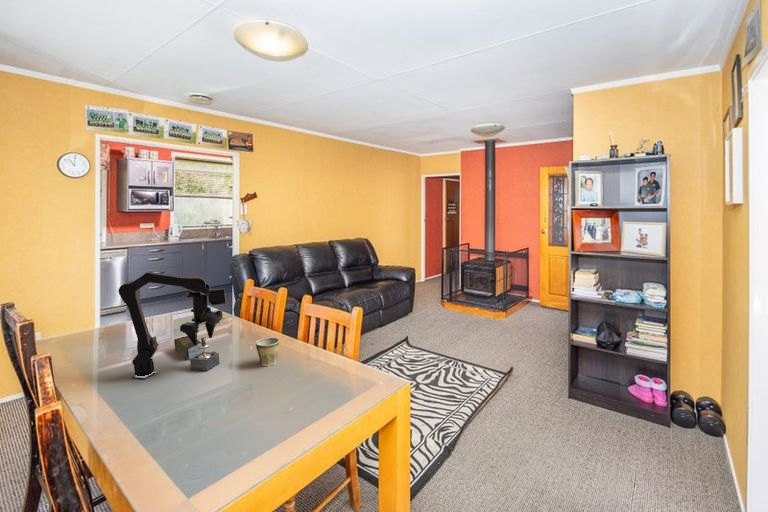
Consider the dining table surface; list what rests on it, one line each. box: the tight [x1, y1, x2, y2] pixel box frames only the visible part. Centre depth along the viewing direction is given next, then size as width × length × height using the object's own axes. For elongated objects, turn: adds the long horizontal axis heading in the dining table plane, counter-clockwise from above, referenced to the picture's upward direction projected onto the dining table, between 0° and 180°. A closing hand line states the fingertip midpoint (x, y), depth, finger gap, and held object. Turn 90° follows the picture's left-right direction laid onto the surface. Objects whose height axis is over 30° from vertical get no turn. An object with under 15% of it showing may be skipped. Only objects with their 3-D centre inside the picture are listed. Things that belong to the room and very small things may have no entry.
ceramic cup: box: [255, 337, 280, 367], centre depth 170 cm, size 13×10×10 cm
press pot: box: [189, 351, 221, 372], centre depth 168 cm, size 10×8×5 cm
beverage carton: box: [173, 335, 203, 361], centre depth 183 cm, size 8×19×7 cm, turn 45°
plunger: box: [198, 337, 211, 359], centre depth 166 cm, size 5×5×9 cm
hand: (203, 341), depth 166 cm, fingers open, 9 cm apart
